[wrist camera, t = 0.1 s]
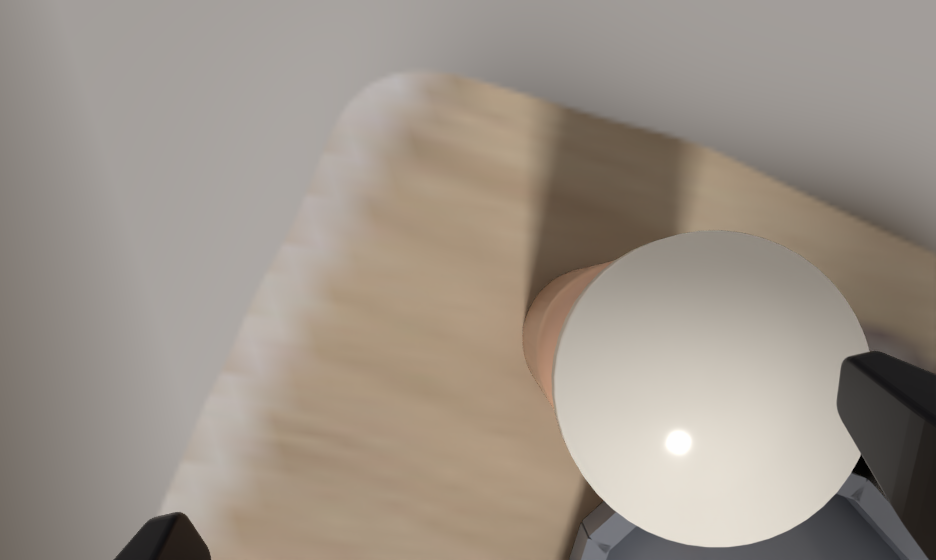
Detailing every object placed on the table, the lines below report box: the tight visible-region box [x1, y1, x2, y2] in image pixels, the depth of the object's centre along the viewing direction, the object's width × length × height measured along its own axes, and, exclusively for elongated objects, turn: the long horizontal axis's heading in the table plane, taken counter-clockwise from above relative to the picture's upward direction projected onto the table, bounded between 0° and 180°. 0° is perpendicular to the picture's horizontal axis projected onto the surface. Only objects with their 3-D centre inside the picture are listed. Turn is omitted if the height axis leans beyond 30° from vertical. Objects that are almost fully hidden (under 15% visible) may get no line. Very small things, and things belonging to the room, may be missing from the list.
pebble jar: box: [523, 230, 870, 547], centre depth 18 cm, size 6×6×12 cm
